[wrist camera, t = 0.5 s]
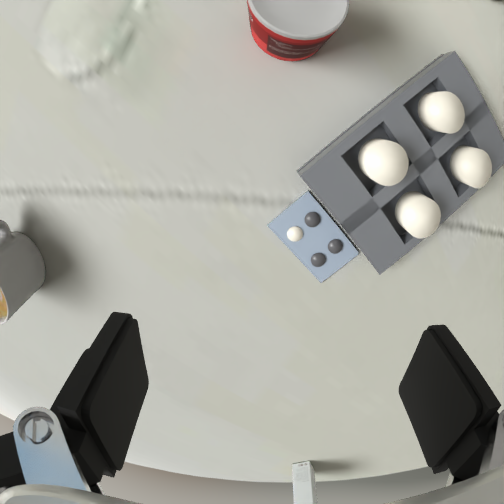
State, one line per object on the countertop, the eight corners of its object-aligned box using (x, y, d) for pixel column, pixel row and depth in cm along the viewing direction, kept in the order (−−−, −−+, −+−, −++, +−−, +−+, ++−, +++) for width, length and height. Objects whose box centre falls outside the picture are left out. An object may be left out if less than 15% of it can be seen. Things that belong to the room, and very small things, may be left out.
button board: (441, 54, 26) (454, 51, 23) (497, 152, 30) (510, 156, 28) (252, 209, 35) (251, 217, 32) (331, 294, 39) (336, 307, 37)
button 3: (435, 84, 26) (450, 83, 23) (456, 117, 27) (470, 119, 24) (410, 105, 27) (423, 105, 24) (432, 138, 28) (446, 141, 26)
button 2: (416, 183, 30) (429, 189, 28) (434, 212, 32) (446, 221, 29) (387, 207, 32) (398, 216, 29) (406, 236, 33) (417, 246, 30)
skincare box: (291, 463, 58) (293, 508, 47) (309, 460, 58) (314, 505, 47) (297, 473, 61) (299, 514, 50) (314, 469, 60) (318, 511, 49)
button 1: (380, 129, 28) (392, 131, 26) (403, 163, 30) (416, 167, 27) (349, 155, 30) (358, 159, 27) (374, 188, 31) (384, 195, 28)
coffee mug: (46, 298, 42) (12, 335, 32) (3, 276, 40) (-32, 307, 31) (47, 222, 36) (3, 252, 27) (1, 202, 35) (-43, 226, 26)
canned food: (287, -12, 25) (297, -59, 14) (338, 36, 27) (371, 6, 17) (234, 26, 27) (223, -11, 17) (286, 76, 29) (299, 57, 19)
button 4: (467, 138, 28) (482, 141, 25) (482, 168, 29) (496, 173, 26) (444, 159, 29) (458, 163, 26) (459, 189, 30) (473, 196, 28)
